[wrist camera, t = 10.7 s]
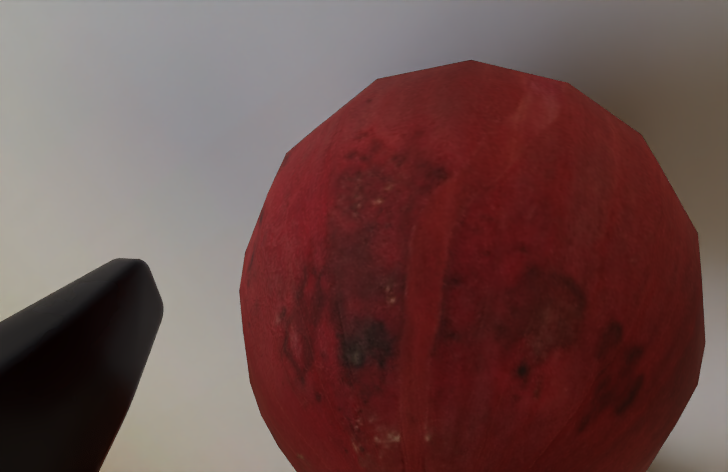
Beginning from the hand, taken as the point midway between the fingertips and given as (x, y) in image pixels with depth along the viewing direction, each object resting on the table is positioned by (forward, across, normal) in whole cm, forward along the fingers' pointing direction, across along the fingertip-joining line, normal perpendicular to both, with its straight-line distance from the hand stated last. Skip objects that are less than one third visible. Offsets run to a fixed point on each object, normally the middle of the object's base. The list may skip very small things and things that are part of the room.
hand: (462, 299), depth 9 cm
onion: (+4, 0, 0) cm, 4 cm away
